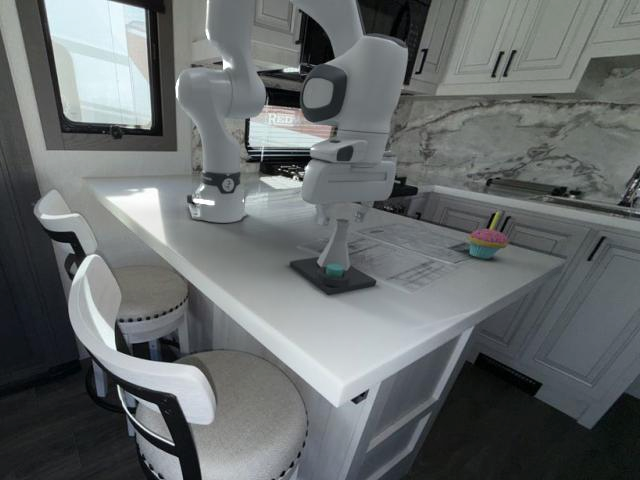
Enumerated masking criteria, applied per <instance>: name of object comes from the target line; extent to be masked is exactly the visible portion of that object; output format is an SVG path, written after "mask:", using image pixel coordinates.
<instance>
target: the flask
mask: <svg viewBox="0 0 640 480" xmlns="http://www.w3.org/2000/svg"><path fill="white" fill-rule="evenodd" d="M334 223H335V226H334V229H333V232H332V235H331V237H330V239H329V241H328V242H327V244H326V246H325V248H324V249H323V251H322V253H321V254H320V256H318V257H319V259H318V261H317V263H318V264H319V265H320V267H321V268H322V267H327V265H328V264H339V265H341V266H343V267H344V270H345V271H347V270H348V269H349V267H350V265H351V262H350V253H349V247H348V231H349V227H350V225H351V224H352V221H351V220H350V219H346V218H336V219H335V220H334Z"/></svg>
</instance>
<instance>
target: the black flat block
mask: <svg viewBox="0 0 640 480" xmlns="http://www.w3.org/2000/svg"><path fill="white" fill-rule="evenodd" d="M319 257H320V256H316V257H308V258H302V259H295V260H290V262H289V267H290V268H291V269H292V270H294V271H295V272H297V273H298V274H299V275H300V276H301V277H303V278H304V279H305V280H307V281H308V282H310V283H311V284H313V285H314V286H315V287H317V288H318V289H319V290H320V291H322V292H323V293H324V294H326V295H327V296H333V295H338V294H343V293H348V292H353V291H357V290H361V289H362V290H363V289H367V288H372V287H376V285H377V281H378V280H377V279H375V278H374V277H372V276H370V275H368V274H367V273H365V272H363V271H361V270H360V269H358V268H356V267H354V266H353V265H351V264H350V267H349V269H348V270H347V271H345V270H343V274H342V277H339V278H337V277H331V276H328V275H326V269H327V267H322V268H321V267H320V265H319V264H318V263H317V261H318V259H319Z"/></svg>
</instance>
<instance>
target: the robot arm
mask: <svg viewBox="0 0 640 480" xmlns="http://www.w3.org/2000/svg"><path fill="white" fill-rule="evenodd" d="M288 1H289V2H290V3H291V4H293V5H294V6H295V7H297V8H298V9H300V10H301V11H302V12H304V13H305V14H307V16H309V17H310V18H312V20H314V21H315V22H316V23H317V24H319V26H320V27H321V28H322V29H323V30H324V32H325V33H326V35H327V36H328V38H329V41H330V44H331V47H332V52H333V56H334V59H331V60H329V61H327V62H325V63H320V64H317V65H315V66H313V68H312V69H311V70H310V71H309V72H308V74H307V75H306V77H305V79H304V81H303V83H302V86H301V90H300V96H299V105H300V110H301V114H302V115H303V118H304V119H305V120H306V121H308V122H309V123H311V124H314V125H319V126H327V127H337V131H336V135H334V136H332V137H329V138H327V139H324V140H321V141H319V142H316V143H314V144H312V145H311V147H310V149H309V150H310V151H309V157H310V158H312V159H311V160H309V162H308V163H307V165H306V168H305V171H304V174H303V179H302V184H301V190H300V196H301V199H302V201H304V202H306V203H308V204H310V205H314V206H315V210H316V213H317V215H318V217H317V225H318V226H320V227H325V226H329V222H330V220H331V217H330V216H327V212H326V210H328V209H329V206H330V204H345V203H346V204H347V203H348V204H349V203H360V204H361V205H360V208H359V209H358V211H356V212H355V211H354V216H353V219H352V220H353V222H355V223H359V224H360V223H364V222H365V220H366V216H367V215H368V213H370V211H371V209H372V208H373V207H374V203H375V202H378V201H379V202H381V201H387V200H388V199H389V197H390V196H391V194H392V192H393V189H394V183H395V180H396V179H395V178H396V173H397V162H398V157H397V155H396V153H395V151H394V150H391V149H388V150H386V147H387V144H388V140H389V136H390V132H391V121H392V117H393V114H394V112H395V110H396V108H397V106H398V103H399V100H400V98H401V93H402V90H403V85H404V83H405V76H406V72H407V67H408V59H409V49H408V45H407V44H406V42H405V41H403V40H402V39H401V38H397V37H394V36H389V35H387V34H381V33H374V32H373V33H371V32H370V33H367V32H366V29H365V24H364V20H363V16H362V12H361V8H360V4H359V0H288ZM254 5H255V0H206V8H205V12H206V13H205V35H206V38H207V40H208V42H209V44H210V45H211V46H212V47H213V48H214V49H215V50H216V51H217V52H218V53H219V54H220V56H221V60H222V66H223V67H222V69H220V68H219V69H218V68H212V67H206V66H205V67H203V66H198V67H197V66H196V67H190V68H184V69H183V70H182V71H181V72H180V74H179V76H178V78H177V81H176V83H175V84H176V85H175V95H176V99H177V102H178V105H179V107H180V108H181V110H182V111H183V112H184V113H185V114H186V115H187V116H188V117H189V118H190V120H191V121H192V122H193V123H194V125H195V127H196V129H197V131H198V133H199V136H200V140H201V147H202V170H201V175H200V182H201V183H200V185H198V187H197V189H196V190H195V193H193V194H187V195H186V203H187V204H189V205H188V209H189V212H190V215H191V218H192V219H193V220H198V221H204V222H210V223H217V224H218V223H219V224H220V223H221V224H224V223H225V224H226V223H227V224H228V223H235V222H239V221H241V220H242V219H243V218H244V217H246V216H247V215H248V212H247V211H245V209H244V206H245V205H244V201H245V200H244V190H243V189H242V187H241V186H240V185H241V180H242V176H241V175H242V173H241V171H240V169H241V168H240V166H241V145H240V144H241V143H240V141H239V140H238V139H237V137H236V136H234V135H233V134H231V133H230V132H229V131H228V130H227V127H226V124H225V119H231V120H246V119H247V120H248V119H252V118H256V117H258V116H259V115H260V114H261V113H262V112H263V110H264V108H265V105H266V102H267V101H266V100H267V99H266V98H267V91H266V87H265V83H264V82H263V80H262V79H261V77H260V76H259V74H258V72H257V70H256V67H255V63H254V59H253V55H252V44H251V43H252V42H251V41H252V40H251V39H252V23H253V14H254Z"/></svg>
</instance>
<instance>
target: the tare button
mask: <svg viewBox="0 0 640 480" xmlns="http://www.w3.org/2000/svg"><path fill="white" fill-rule="evenodd" d="M343 270H344V267H343V266H341V265H339V264H328V265H327V269H326V275H328V276H331V277H337V278H339V277H342V274H343Z"/></svg>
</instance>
